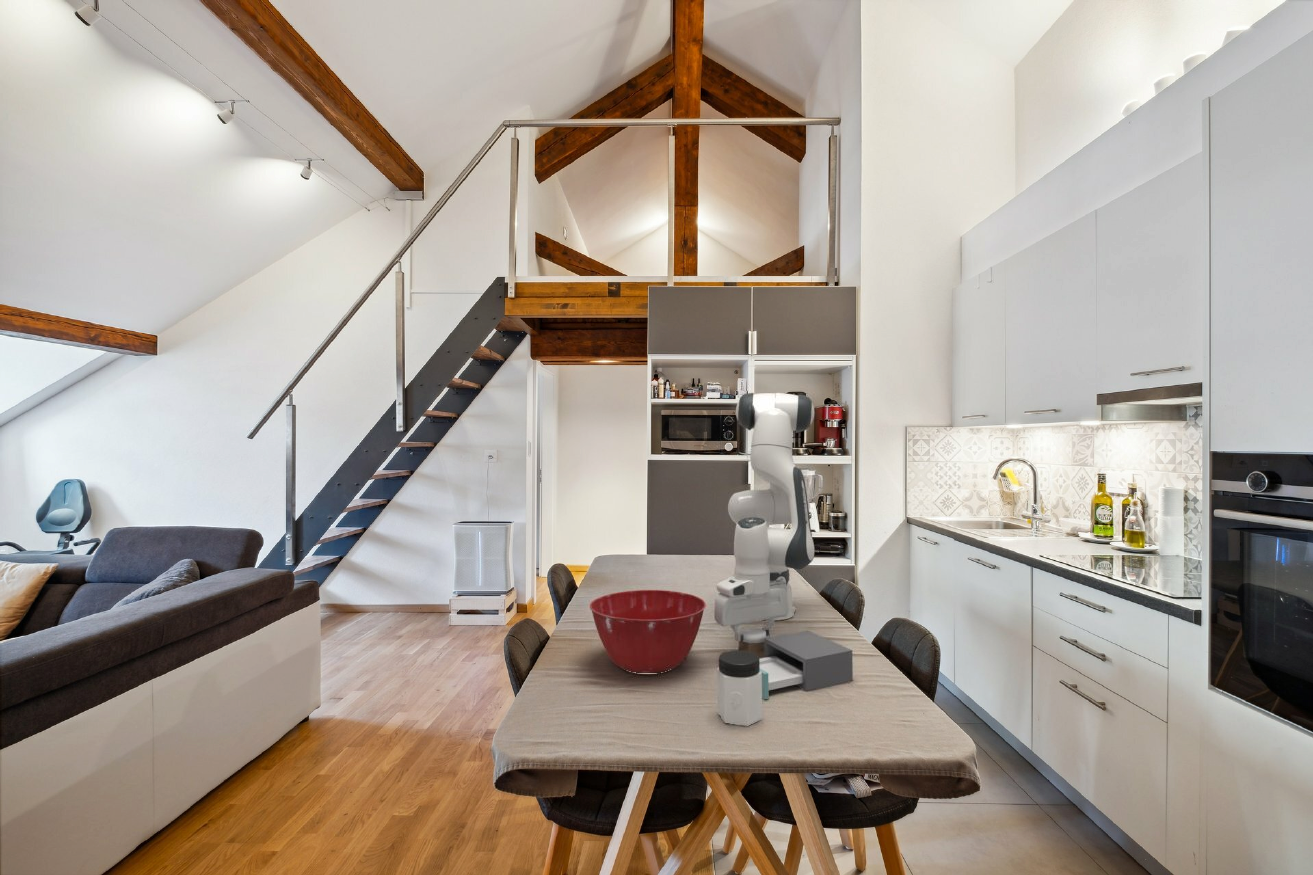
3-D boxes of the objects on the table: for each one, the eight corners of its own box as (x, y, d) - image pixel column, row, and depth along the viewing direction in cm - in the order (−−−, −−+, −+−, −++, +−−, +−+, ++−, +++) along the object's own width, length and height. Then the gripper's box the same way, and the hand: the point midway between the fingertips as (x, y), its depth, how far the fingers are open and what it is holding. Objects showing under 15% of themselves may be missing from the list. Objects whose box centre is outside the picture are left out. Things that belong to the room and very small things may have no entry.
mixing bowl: (637, 638, 174) (636, 583, 174) (727, 658, 157) (726, 597, 157) (566, 671, 151) (565, 607, 151) (663, 698, 134) (662, 626, 134)
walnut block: (739, 657, 158) (738, 637, 158) (755, 653, 160) (755, 634, 160) (749, 663, 154) (749, 643, 154) (766, 660, 156) (766, 640, 156)
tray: (726, 673, 147) (726, 651, 147) (771, 665, 152) (771, 642, 152) (764, 699, 132) (764, 673, 132) (812, 688, 138) (812, 664, 138)
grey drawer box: (764, 666, 151) (764, 638, 151) (808, 658, 157) (807, 630, 157) (806, 691, 137) (805, 659, 137) (852, 680, 142) (852, 650, 142)
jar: (713, 723, 122) (712, 662, 122) (721, 705, 130) (721, 648, 130) (759, 728, 120) (758, 666, 120) (765, 710, 127) (764, 652, 127)
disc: (734, 636, 159) (734, 629, 159) (756, 633, 161) (756, 626, 161) (748, 644, 153) (748, 637, 153) (771, 640, 155) (771, 633, 155)
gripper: (778, 576, 164) (779, 628, 164) (710, 585, 155) (711, 640, 156) (793, 581, 158) (794, 635, 158) (723, 590, 150) (724, 648, 150)
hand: (752, 638), depth 157 cm, fingers closed on disc, 7 cm apart
